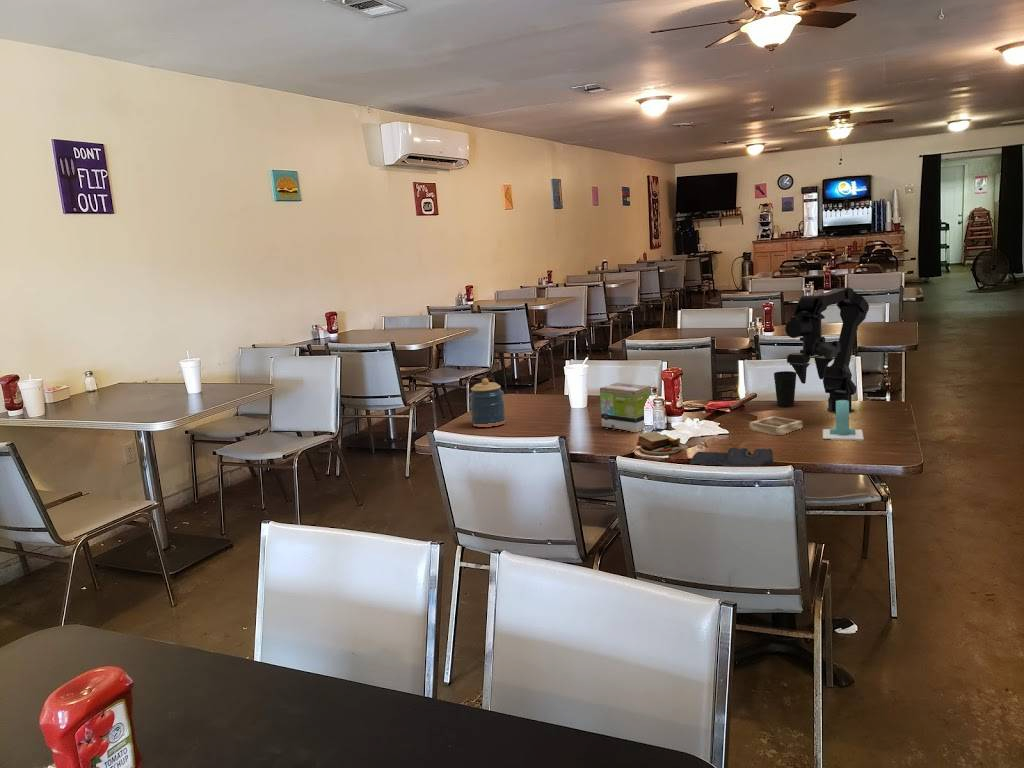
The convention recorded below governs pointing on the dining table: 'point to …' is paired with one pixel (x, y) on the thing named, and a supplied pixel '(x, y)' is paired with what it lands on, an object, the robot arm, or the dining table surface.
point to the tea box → (624, 405)
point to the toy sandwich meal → (658, 444)
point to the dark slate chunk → (734, 457)
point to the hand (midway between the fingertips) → (812, 381)
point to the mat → (843, 436)
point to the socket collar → (784, 426)
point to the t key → (842, 419)
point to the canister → (487, 403)
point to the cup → (785, 388)
